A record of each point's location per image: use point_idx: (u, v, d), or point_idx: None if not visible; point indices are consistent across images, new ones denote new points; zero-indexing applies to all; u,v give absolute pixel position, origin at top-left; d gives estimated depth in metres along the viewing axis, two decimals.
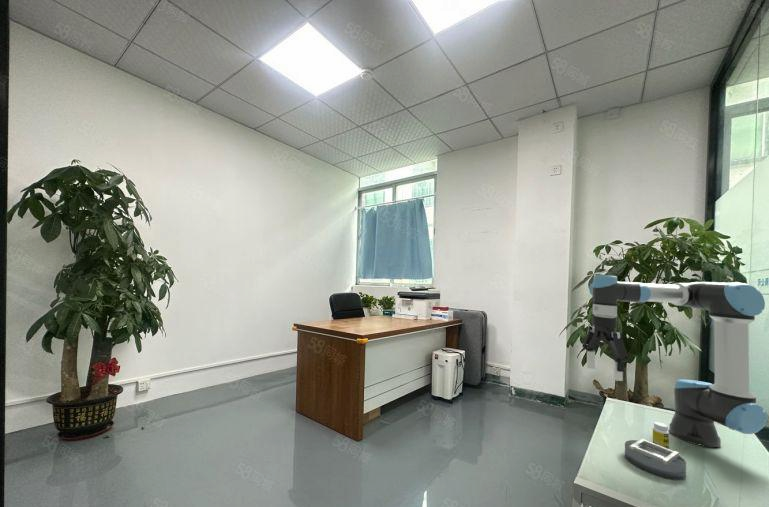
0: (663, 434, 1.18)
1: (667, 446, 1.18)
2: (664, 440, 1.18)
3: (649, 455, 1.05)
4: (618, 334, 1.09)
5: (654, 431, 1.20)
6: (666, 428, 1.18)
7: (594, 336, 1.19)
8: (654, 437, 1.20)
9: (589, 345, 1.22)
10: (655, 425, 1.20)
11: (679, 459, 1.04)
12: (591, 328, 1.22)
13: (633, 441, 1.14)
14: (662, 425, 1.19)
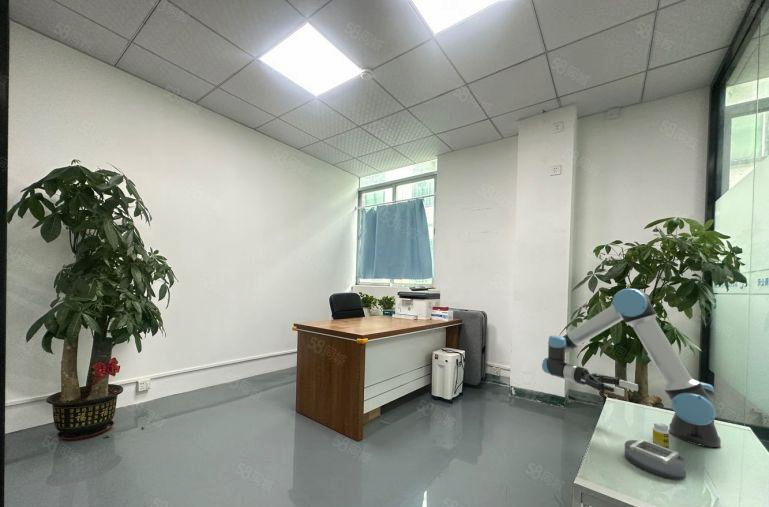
0: (663, 434, 1.18)
1: (667, 446, 1.18)
2: (664, 440, 1.18)
3: (649, 455, 1.05)
4: (581, 380, 1.39)
5: (654, 431, 1.20)
6: (666, 428, 1.18)
7: None
8: (654, 437, 1.20)
9: (612, 383, 1.40)
10: (655, 425, 1.20)
11: (679, 459, 1.04)
12: None
13: (633, 441, 1.14)
14: (662, 425, 1.19)
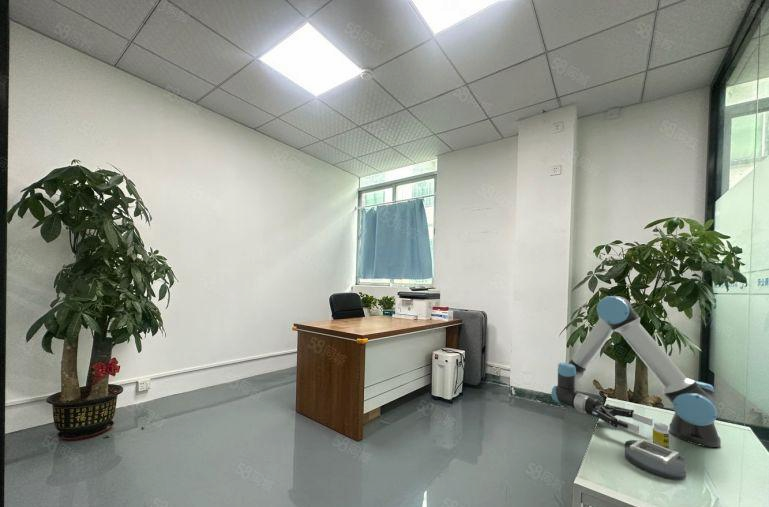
0: (663, 434, 1.18)
1: (667, 446, 1.18)
2: (664, 440, 1.18)
3: (649, 455, 1.05)
4: (593, 412, 1.34)
5: (654, 431, 1.20)
6: (666, 428, 1.18)
7: None
8: (654, 437, 1.20)
9: None
10: (655, 425, 1.20)
11: (679, 459, 1.04)
12: None
13: (633, 441, 1.14)
14: (662, 425, 1.19)
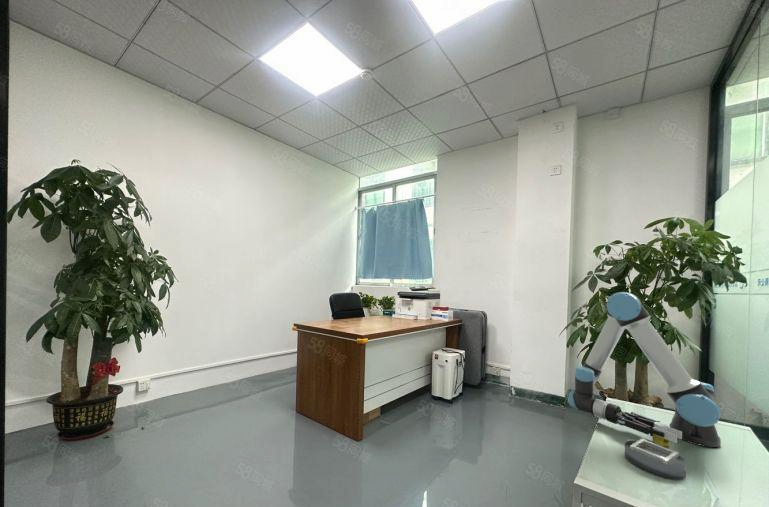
0: None
1: (668, 446, 1.18)
2: (664, 440, 1.18)
3: (649, 455, 1.05)
4: (620, 421, 1.26)
5: None
6: (666, 428, 1.18)
7: None
8: (654, 437, 1.20)
9: None
10: (655, 425, 1.20)
11: (679, 459, 1.04)
12: None
13: (633, 441, 1.14)
14: (662, 425, 1.19)
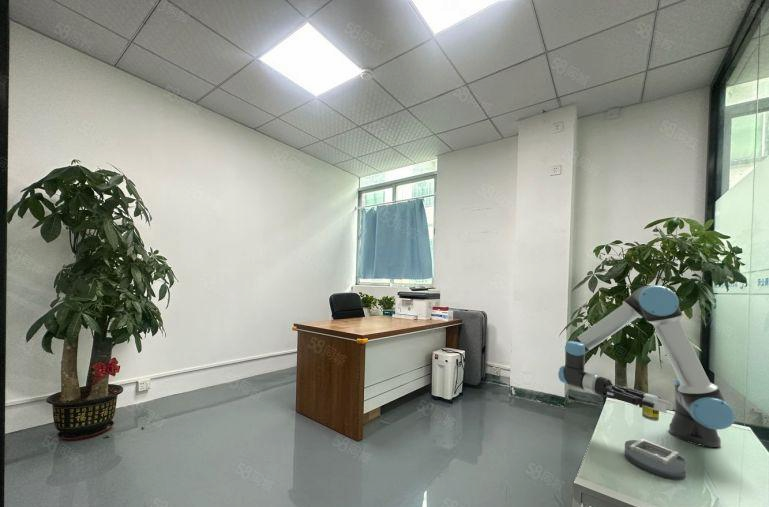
0: None
1: (657, 418, 1.13)
2: (654, 411, 1.13)
3: (649, 455, 1.05)
4: (609, 393, 1.22)
5: None
6: (656, 399, 1.14)
7: None
8: (643, 408, 1.16)
9: None
10: (645, 396, 1.16)
11: (679, 459, 1.04)
12: None
13: (633, 441, 1.14)
14: (652, 396, 1.15)
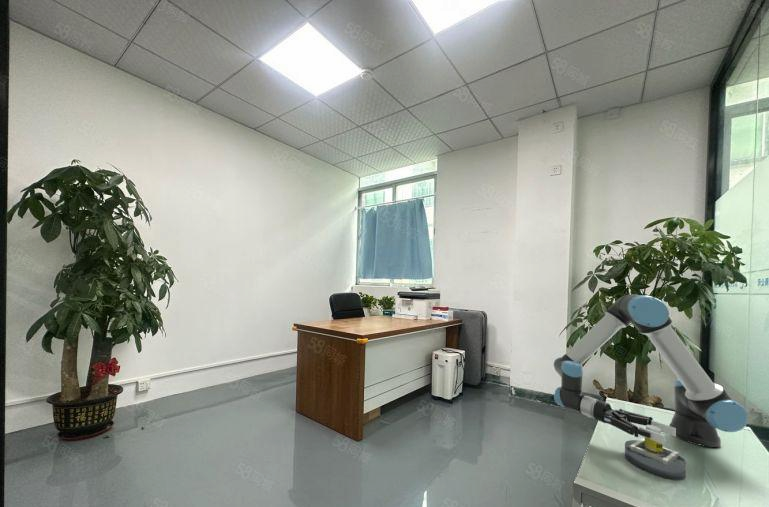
0: None
1: (661, 452, 1.05)
2: (657, 445, 1.05)
3: (649, 455, 1.05)
4: (605, 419, 1.14)
5: None
6: (659, 432, 1.06)
7: None
8: (646, 442, 1.08)
9: None
10: (647, 428, 1.08)
11: (679, 459, 1.04)
12: None
13: (633, 441, 1.14)
14: (655, 428, 1.07)
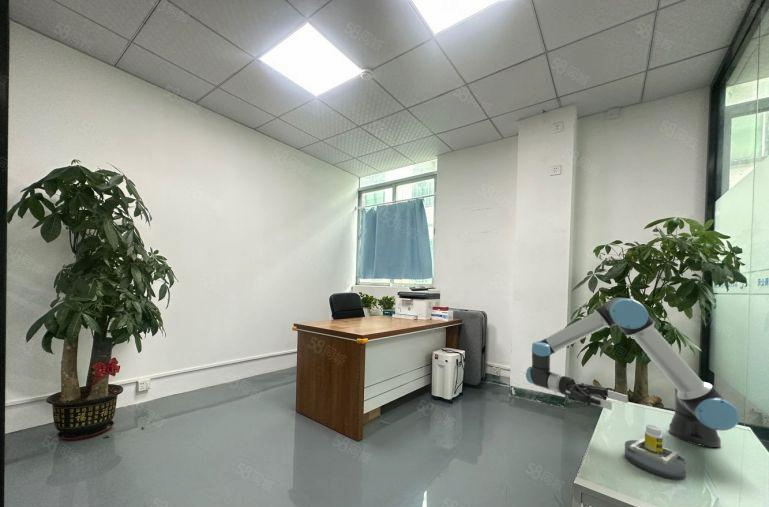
0: (656, 438, 1.06)
1: (661, 452, 1.05)
2: (657, 445, 1.06)
3: (649, 455, 1.05)
4: (566, 391, 1.27)
5: (647, 435, 1.08)
6: (659, 432, 1.06)
7: None
8: (646, 442, 1.08)
9: None
10: (647, 428, 1.08)
11: (679, 459, 1.04)
12: None
13: (633, 441, 1.14)
14: (655, 428, 1.07)
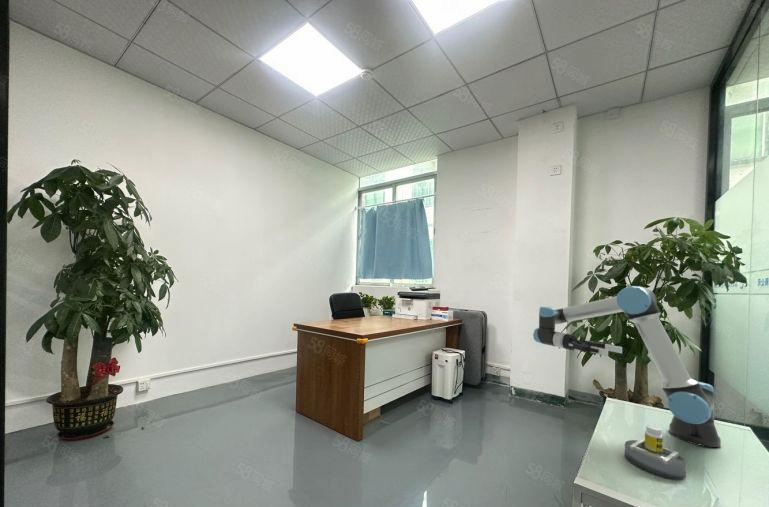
0: (656, 438, 1.06)
1: (661, 452, 1.05)
2: (657, 445, 1.06)
3: (649, 455, 1.05)
4: (569, 344, 1.46)
5: (647, 435, 1.08)
6: (659, 432, 1.06)
7: None
8: (646, 442, 1.08)
9: (598, 348, 1.47)
10: (647, 428, 1.08)
11: (679, 459, 1.04)
12: None
13: (633, 441, 1.14)
14: (655, 428, 1.07)
